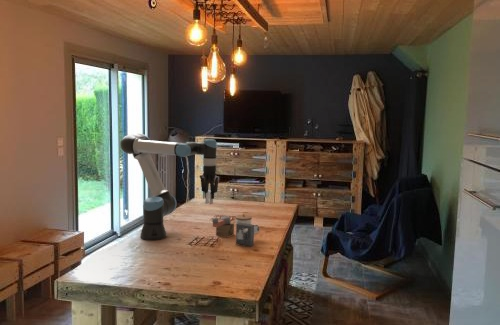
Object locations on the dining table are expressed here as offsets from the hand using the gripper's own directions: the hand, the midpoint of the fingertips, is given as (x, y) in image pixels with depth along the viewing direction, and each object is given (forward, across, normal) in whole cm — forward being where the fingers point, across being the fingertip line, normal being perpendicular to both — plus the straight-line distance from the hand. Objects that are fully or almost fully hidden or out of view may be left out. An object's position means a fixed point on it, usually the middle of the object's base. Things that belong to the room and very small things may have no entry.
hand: (209, 203), depth 269 cm
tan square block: (+20, -6, -8) cm, 23 cm away
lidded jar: (+21, -8, -28) cm, 36 cm away
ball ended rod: (+13, -7, -3) cm, 15 cm away
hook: (+16, -26, -2) cm, 31 cm away
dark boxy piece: (+20, -26, +2) cm, 34 cm away
